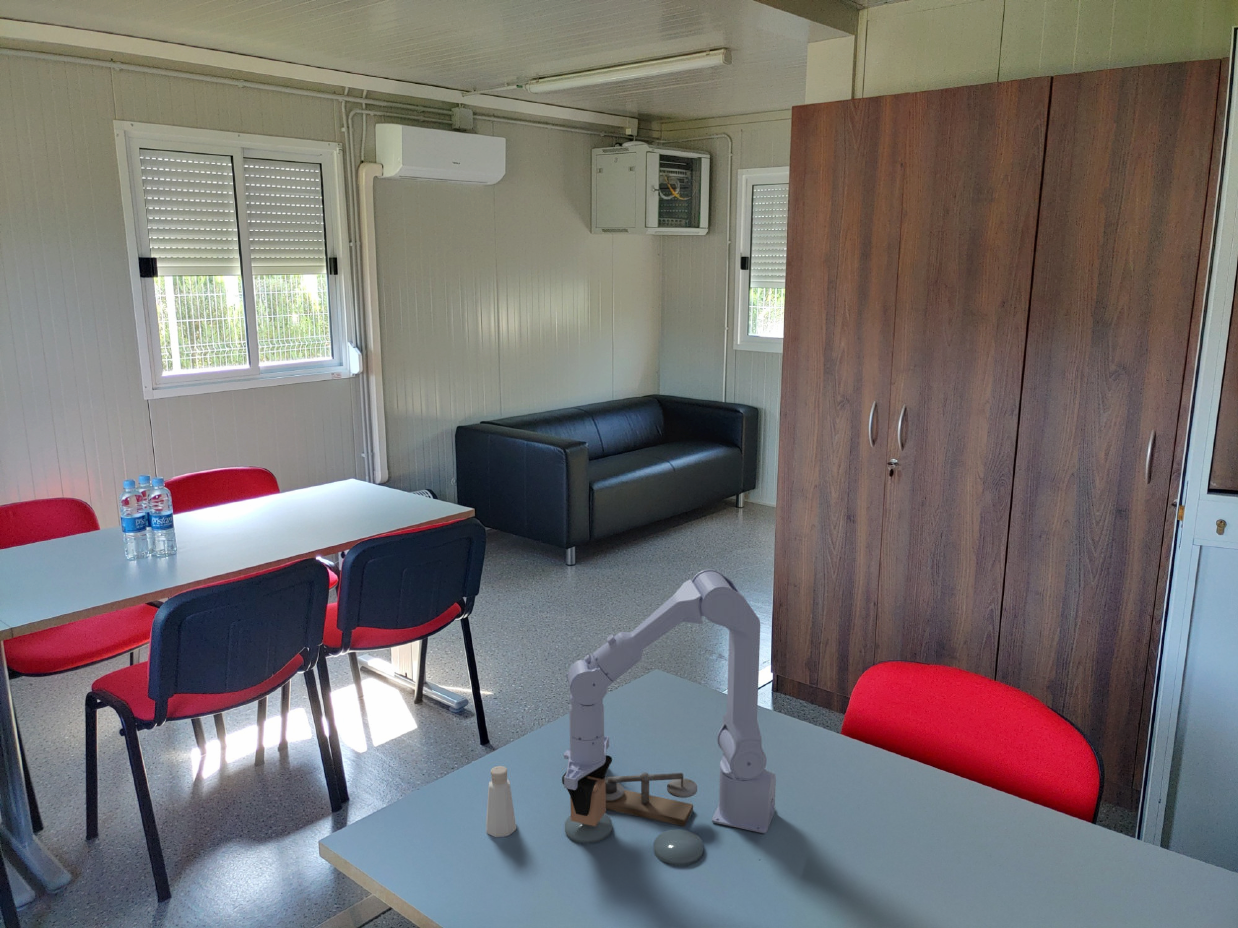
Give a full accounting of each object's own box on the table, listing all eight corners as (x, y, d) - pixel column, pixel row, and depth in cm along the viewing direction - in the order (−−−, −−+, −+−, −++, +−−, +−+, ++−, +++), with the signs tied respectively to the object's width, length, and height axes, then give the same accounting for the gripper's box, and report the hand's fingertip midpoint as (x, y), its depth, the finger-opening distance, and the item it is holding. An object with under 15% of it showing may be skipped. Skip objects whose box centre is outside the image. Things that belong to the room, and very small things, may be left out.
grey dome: (618, 820, 159) (618, 815, 159) (601, 847, 152) (601, 842, 152) (576, 811, 162) (576, 806, 162) (557, 837, 155) (556, 831, 154)
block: (605, 811, 158) (605, 779, 156) (595, 826, 153) (595, 793, 152) (581, 806, 159) (580, 774, 158) (570, 820, 155) (570, 788, 154)
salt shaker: (511, 839, 154) (509, 779, 152) (480, 835, 155) (477, 776, 153) (521, 820, 159) (519, 762, 157) (491, 816, 160) (488, 759, 158)
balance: (700, 811, 162) (701, 768, 160) (691, 828, 157) (692, 784, 155) (601, 790, 168) (601, 748, 167) (590, 805, 164) (589, 763, 162)
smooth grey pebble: (708, 840, 153) (708, 835, 153) (694, 869, 146) (694, 864, 146) (663, 830, 156) (663, 825, 156) (647, 858, 149) (647, 853, 149)
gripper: (582, 708, 161) (583, 778, 164) (546, 748, 148) (548, 824, 151) (620, 715, 159) (620, 786, 161) (586, 756, 145) (587, 833, 148)
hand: (588, 805), depth 156 cm, fingers closed on block, 4 cm apart
